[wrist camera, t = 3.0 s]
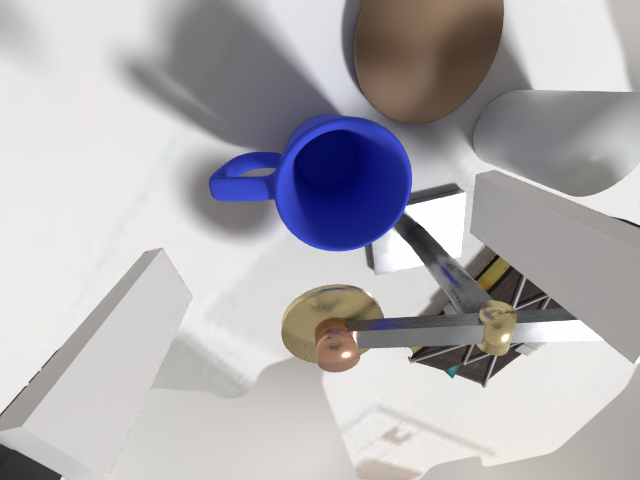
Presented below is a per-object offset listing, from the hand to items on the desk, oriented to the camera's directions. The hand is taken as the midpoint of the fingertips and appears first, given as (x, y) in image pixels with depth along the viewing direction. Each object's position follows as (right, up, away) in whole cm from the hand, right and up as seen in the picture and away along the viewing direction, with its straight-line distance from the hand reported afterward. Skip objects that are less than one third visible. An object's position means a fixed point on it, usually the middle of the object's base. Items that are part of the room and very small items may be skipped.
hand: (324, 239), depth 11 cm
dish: (+8, +15, +9) cm, 19 cm away
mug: (-2, +8, +13) cm, 15 cm away
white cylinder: (+17, +10, +13) cm, 24 cm away
